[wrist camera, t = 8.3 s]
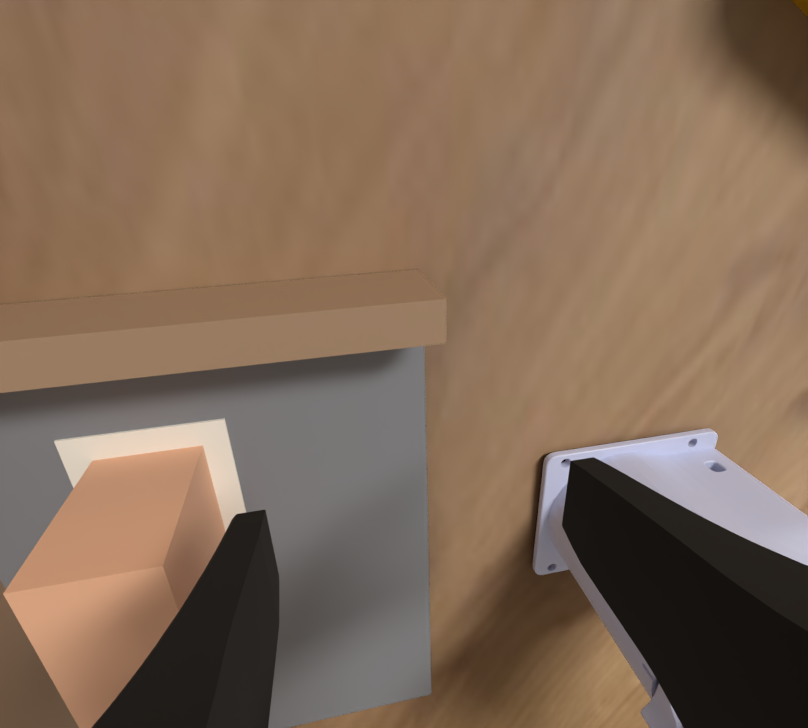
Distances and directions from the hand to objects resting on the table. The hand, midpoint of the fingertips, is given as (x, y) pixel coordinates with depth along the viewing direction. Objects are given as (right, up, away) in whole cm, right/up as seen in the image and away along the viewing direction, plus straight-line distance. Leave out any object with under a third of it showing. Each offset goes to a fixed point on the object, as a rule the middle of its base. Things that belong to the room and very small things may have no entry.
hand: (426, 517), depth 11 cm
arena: (-9, -5, +11) cm, 15 cm away
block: (-10, -3, +9) cm, 14 cm away
